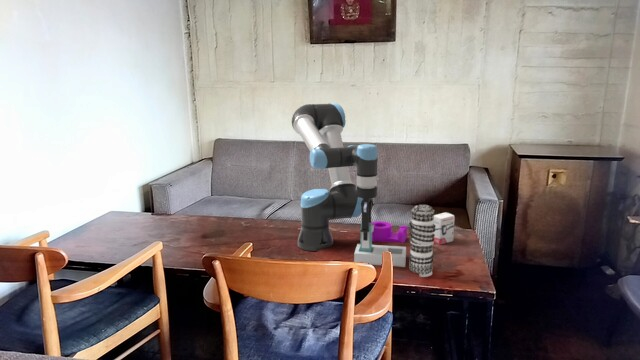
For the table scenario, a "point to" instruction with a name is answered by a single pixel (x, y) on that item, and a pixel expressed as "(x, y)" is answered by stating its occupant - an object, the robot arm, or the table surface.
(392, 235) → the tape dispenser
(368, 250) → the plug
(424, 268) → the decorative candle
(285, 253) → the table surface
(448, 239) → the ink box
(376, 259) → the white slotted block
